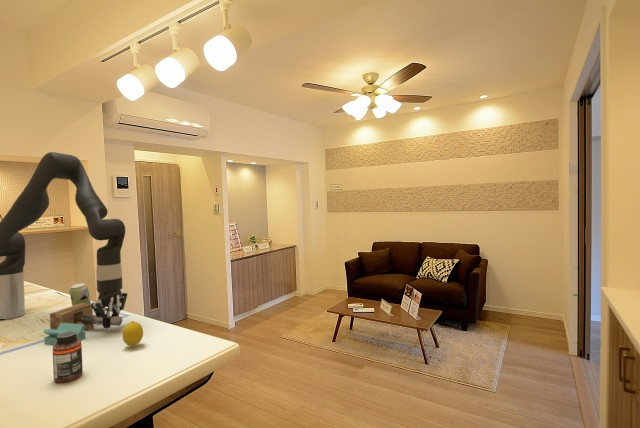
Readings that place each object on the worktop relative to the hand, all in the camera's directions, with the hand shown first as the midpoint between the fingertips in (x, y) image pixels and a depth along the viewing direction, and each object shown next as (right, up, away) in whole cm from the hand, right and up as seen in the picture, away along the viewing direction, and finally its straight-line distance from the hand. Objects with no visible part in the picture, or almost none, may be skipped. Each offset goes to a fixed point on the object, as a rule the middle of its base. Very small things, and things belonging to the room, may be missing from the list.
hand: (111, 325), depth 117 cm
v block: (-10, -2, -8) cm, 13 cm away
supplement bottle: (+8, -3, -31) cm, 32 cm away
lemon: (+15, -2, -13) cm, 20 cm away
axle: (-4, +2, +1) cm, 4 cm away
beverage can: (-24, -1, +19) cm, 30 cm away
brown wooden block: (-13, -2, +3) cm, 13 cm away
